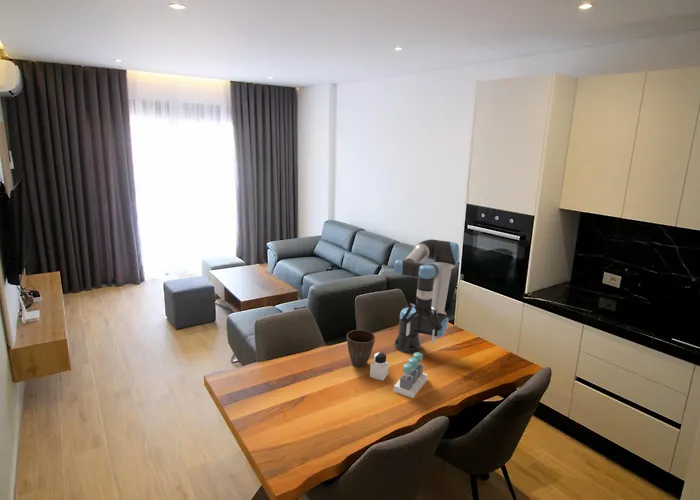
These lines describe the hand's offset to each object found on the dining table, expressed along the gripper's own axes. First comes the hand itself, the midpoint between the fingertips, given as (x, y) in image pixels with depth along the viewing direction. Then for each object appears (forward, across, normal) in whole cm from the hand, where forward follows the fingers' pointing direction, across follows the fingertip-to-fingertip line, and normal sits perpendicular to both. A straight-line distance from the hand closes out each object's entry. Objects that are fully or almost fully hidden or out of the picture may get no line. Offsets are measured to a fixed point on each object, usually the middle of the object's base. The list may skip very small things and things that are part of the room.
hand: (420, 338), depth 211 cm
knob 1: (+16, 0, -13) cm, 21 cm away
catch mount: (+23, 0, -7) cm, 24 cm away
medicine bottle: (+23, -17, -8) cm, 30 cm away
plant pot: (+23, -31, -2) cm, 39 cm away
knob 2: (+16, 0, -7) cm, 18 cm away
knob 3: (+16, 0, 0) cm, 16 cm away
